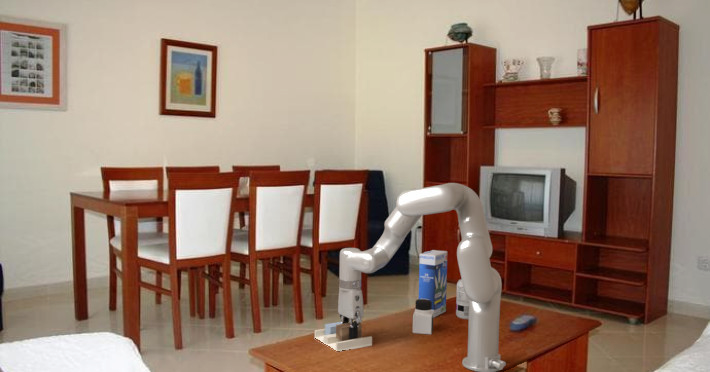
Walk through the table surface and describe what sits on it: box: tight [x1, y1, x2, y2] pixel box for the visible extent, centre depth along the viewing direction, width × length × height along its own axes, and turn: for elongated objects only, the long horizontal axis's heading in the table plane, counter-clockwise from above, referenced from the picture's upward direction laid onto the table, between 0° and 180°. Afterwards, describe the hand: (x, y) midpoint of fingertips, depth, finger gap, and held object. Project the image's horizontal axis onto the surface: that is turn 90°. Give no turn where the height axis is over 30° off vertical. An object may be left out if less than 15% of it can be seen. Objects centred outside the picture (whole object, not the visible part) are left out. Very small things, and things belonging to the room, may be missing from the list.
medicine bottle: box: [412, 298, 434, 335], centre depth 223 cm, size 7×7×12 cm
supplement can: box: [455, 279, 470, 320], centre depth 244 cm, size 8×8×15 cm
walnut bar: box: [336, 322, 363, 341], centre depth 205 cm, size 4×8×4 cm, turn 122°
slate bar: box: [324, 321, 343, 335], centre depth 213 cm, size 4×8×4 cm, turn 122°
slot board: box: [314, 328, 373, 352], centre depth 209 cm, size 16×14×3 cm
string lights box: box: [418, 249, 448, 319], centre depth 248 cm, size 13×8×26 cm, turn 149°
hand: (349, 335), depth 205 cm, fingers open, 4 cm apart
